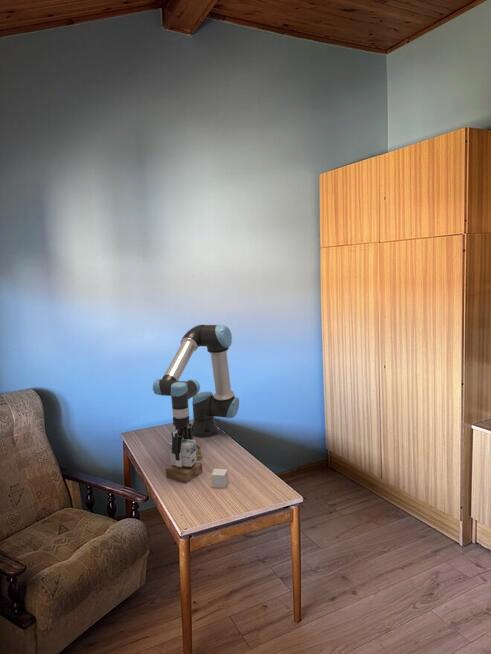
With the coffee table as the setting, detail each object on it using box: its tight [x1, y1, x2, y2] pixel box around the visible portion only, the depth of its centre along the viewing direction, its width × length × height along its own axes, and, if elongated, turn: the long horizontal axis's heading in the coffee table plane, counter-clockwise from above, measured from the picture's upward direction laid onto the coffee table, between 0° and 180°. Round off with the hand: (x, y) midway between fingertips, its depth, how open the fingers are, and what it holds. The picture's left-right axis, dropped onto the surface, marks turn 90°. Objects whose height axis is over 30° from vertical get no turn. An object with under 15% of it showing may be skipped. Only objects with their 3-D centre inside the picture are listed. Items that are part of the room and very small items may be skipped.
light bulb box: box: [168, 438, 198, 467], centre depth 234 cm, size 11×7×11 cm, turn 74°
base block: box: [165, 461, 203, 484], centre depth 235 cm, size 12×12×5 cm
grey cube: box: [210, 468, 229, 489], centre depth 225 cm, size 6×6×6 cm
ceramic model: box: [193, 438, 204, 461], centre depth 256 cm, size 14×11×10 cm
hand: (183, 462), depth 234 cm, fingers closed on light bulb box, 7 cm apart
